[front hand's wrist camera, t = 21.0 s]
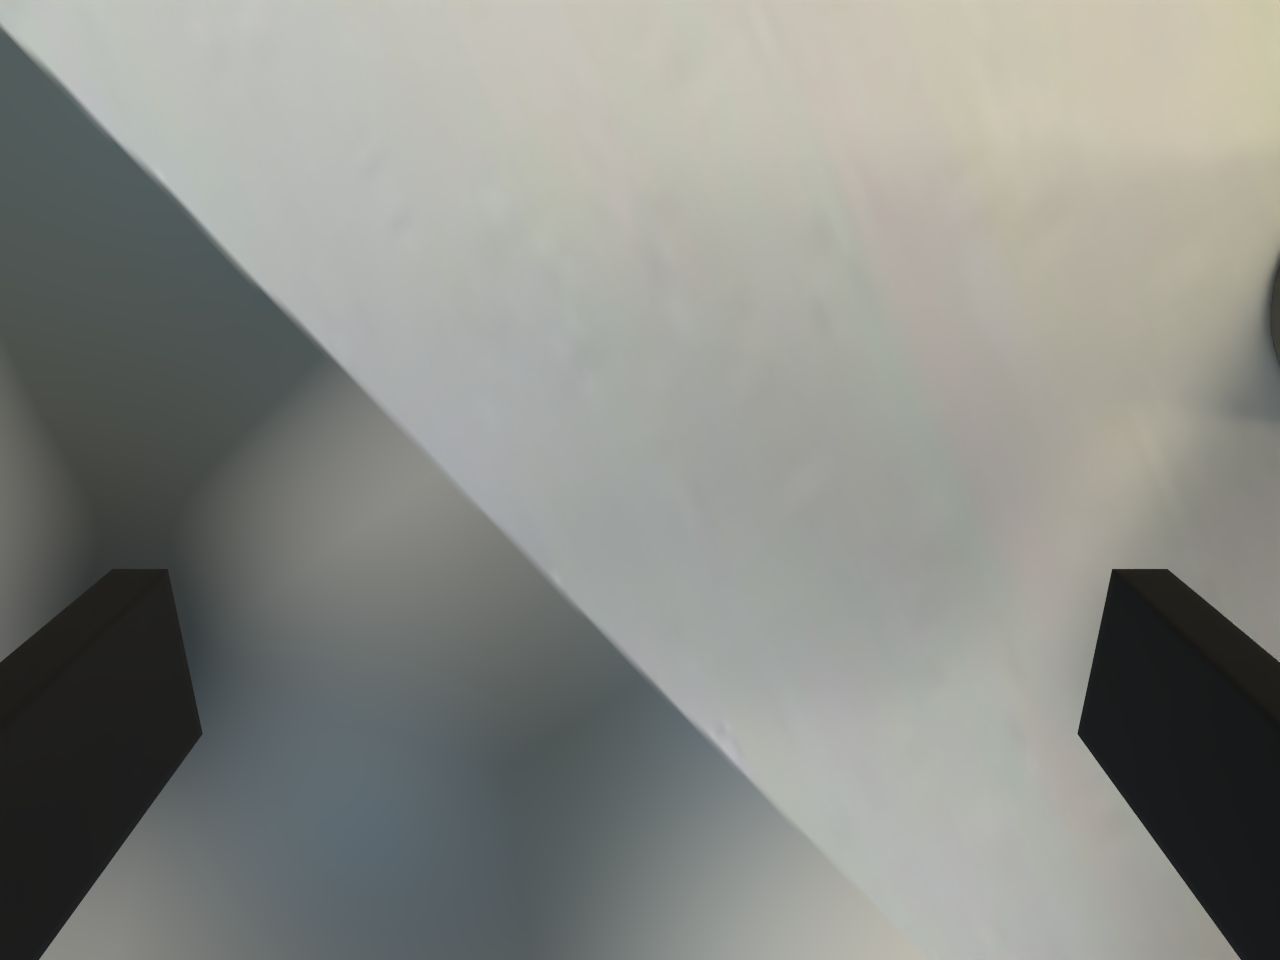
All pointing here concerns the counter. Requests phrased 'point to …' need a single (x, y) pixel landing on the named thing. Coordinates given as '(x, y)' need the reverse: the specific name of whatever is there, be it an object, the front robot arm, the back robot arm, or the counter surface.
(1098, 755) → the front robot arm
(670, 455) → the counter surface
